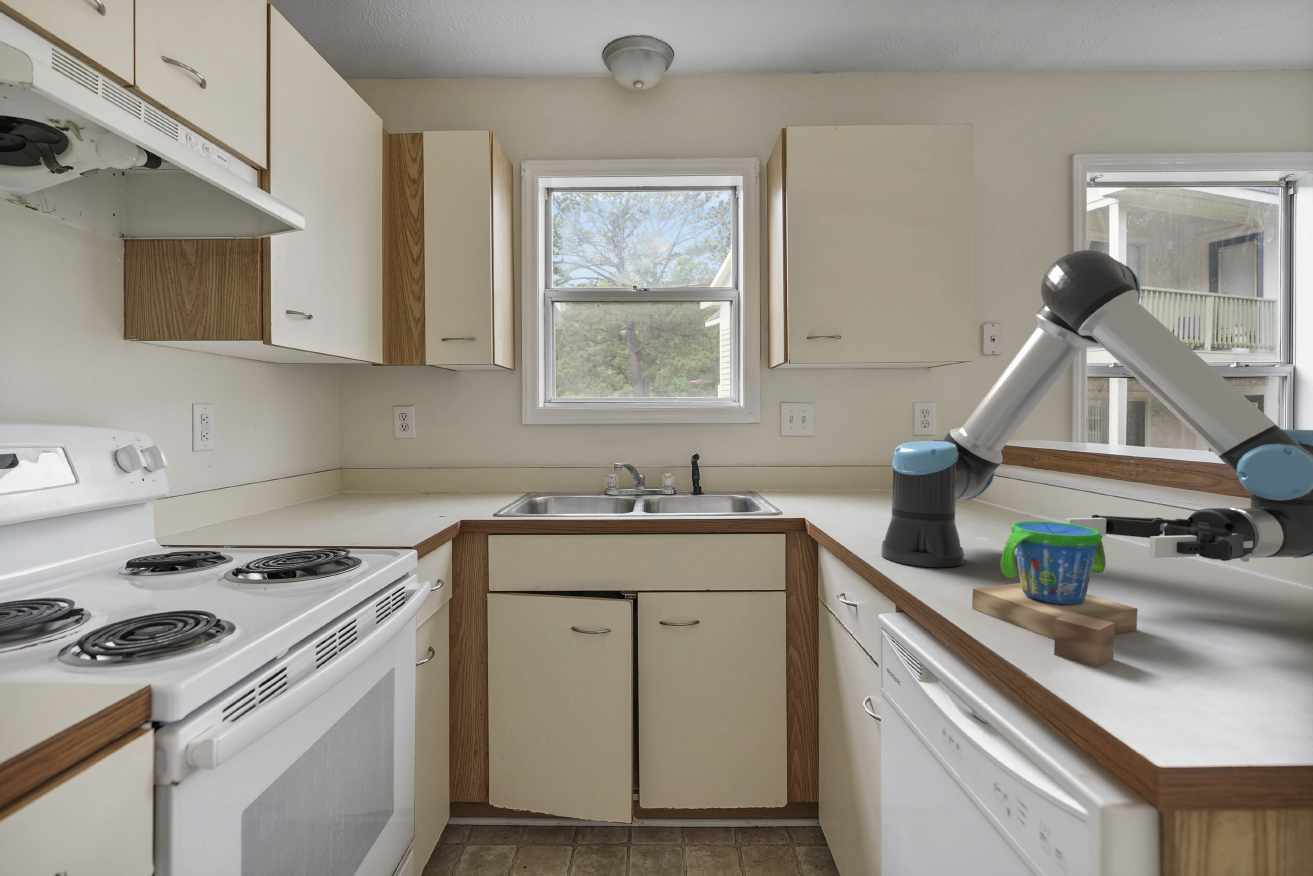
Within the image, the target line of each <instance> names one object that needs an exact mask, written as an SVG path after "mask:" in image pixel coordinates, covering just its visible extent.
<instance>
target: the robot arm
mask: <svg viewBox="0 0 1313 876" xmlns="http://www.w3.org/2000/svg"><path fill="white" fill-rule="evenodd" d="M1138 279H1139V278H1138V277H1137V274H1136V273H1135V272H1134V271H1133V269H1131V268H1130V267H1129V266H1127V265H1126V264H1125V263H1122V262H1120V261H1118V260H1117V259H1115V258H1113V257H1112V256H1111V255H1109V254H1107V253H1106V252H1102V251H1101V250H1100V251H1099V250H1094V249H1093V250H1091V249H1085V250H1083V249H1082V250H1078V251H1073V252H1070V253H1067V254H1066V255H1063V256H1062V257H1060V258H1058V259H1057V260H1055V261H1054V262H1053V263H1052V264H1051V265H1050V267H1048V269H1047V270H1046V272H1045V274H1044V276H1043V277H1042V281H1041V285H1040V294H1041V299H1042V301H1043V304H1042V306H1041V307H1040V309H1039V310H1038V312H1037V313H1036V315H1035V316H1036V321H1037V326H1036V328H1035V330H1034V331H1033V333H1032V334H1031V335H1030V336H1029V337H1028V339H1027V340H1026V341H1025V343H1024V344H1023V346H1021V348H1020V350H1019V351H1018V352H1017V354H1016V355H1015V357H1014V358H1013V359H1012V360H1011V362H1010V363H1009V364H1008V366H1007V367H1006V368H1005V370H1004V371H1003V372H1002V374H1001V375H1000V376H999V377H998V379H997V380H996V382H994V384H993V385H992V387H991V388H990V390H989V391H987V393H986V395H985V396H984V398H983V399H982V400H981V401H980V403H979V404H978V406H977V407H976V408H975V409H974V411H973V412H972V413H971V415H970V416H969V418H968V419H967V420H966V422H965V423H964V424H963V426H961V427H958V428H957V427H956V428H952V429H950V430H949V432H948V433H947V434H946V435H945V437H944V438H943V439H942V440H920V441H910V442H904V443H901V444H899V445H897V446H896V447H895V449H894V452H893V459H892V462H891V463H892V465H891V466H892V484H891V485H892V492H891V495H892V496H891V498H892V499H891V519H890V522H889V524H888V527H887V530H886V534H885V537H884V540H883V541H882V543H881V556H882V557H883V558H884V559H887V560H890V561H892V562H895V563H899V564H904V565H909V566H918V567H926V568H953V567H959V566H962V565H963V564H964V561H965V560H964V559H965V551H964V548H963V547H962V546H961V542H960V535H959V533H958V529H957V526H956V508H957V507H956V506H957V505H956V504H957V503H956V502H961V501H969V500H972V499H975V498H977V497H978V496H980V495H982V494H983V493H985V492H986V491H987V490H988V488H989V487H990V486H991V485H992V483H993V481H994V479H995V474H996V473H995V472H996V470H997V469H998V468H999V467H1000V465H1001V464H1002V463H1003V460H1004V459H1003V454H1002V450H1003V448H1004V447H1005V446H1006V445H1007V443H1008V442H1009V441H1010V440H1011V438H1013V436H1014V435H1015V434H1016V432H1017V431H1018V430H1019V428H1020V427H1021V426H1022V425H1023V424H1024V422H1026V420H1027V419H1028V417H1029V416H1030V415H1031V414H1032V413H1033V411H1034V410H1035V409H1036V407H1037V406H1038V405H1039V404H1040V403H1041V401H1042V400H1043V399H1044V398H1045V396H1046V395H1047V394H1048V393H1049V391H1050V390H1051V388H1053V386H1055V384H1056V383H1057V381H1058V380H1059V379H1060V378H1061V376H1063V374H1064V373H1065V372H1066V370H1067V369H1068V368H1069V366H1070V365H1071V364H1072V363H1073V361H1075V359H1076V358H1077V357H1078V356H1079V354H1080V353H1081V351H1083V350H1084V349H1086V348H1090V347H1095V346H1098V345H1099V344H1100V346H1101V347H1103V348H1104V350H1106V351H1107V352H1108V353H1109V354H1110V355H1111V356H1112V358H1114V359H1115V360H1116V361H1117V362H1119V364H1120V365H1122V366H1123V368H1124V369H1126V370H1127V371H1128V372H1129V373H1130V374H1131V375H1132V377H1134V378H1135V379H1136V380H1137V381H1138V382H1139V383H1140V384H1141V385H1142V386H1143V387H1144V388H1146V390H1148V391H1149V393H1151V394H1152V395H1153V396H1154V397H1155V398H1156V399H1158V401H1159V402H1160V403H1161V404H1162V405H1164V407H1165V408H1167V409H1168V410H1169V411H1170V412H1171V414H1173V415H1174V416H1175V417H1176V418H1178V420H1179V421H1180V422H1182V424H1184V425H1185V426H1186V427H1187V428H1188V430H1190V431H1191V432H1192V433H1193V434H1194V435H1195V436H1196V437H1197V438H1198V439H1199V440H1200V441H1202V442H1203V444H1205V446H1207V448H1209V449H1210V450H1211V451H1212V452H1213V453H1214V455H1216V456H1217V457H1218V458H1219V459H1220V460H1221V461H1222V462H1223V464H1225V465H1226V466H1227V468H1228V469H1230V470H1231V471H1232V472H1233V473H1234V474H1235V475H1236V477H1237V479H1238V480H1239V483H1240V484H1241V485H1242V486H1243V487H1244V489H1246V490H1247V491H1248V492H1249V493H1251V494H1250V506H1249V507H1223V508H1222V507H1220V508H1219V507H1218V508H1202V509H1199V510H1197V511H1194V512H1193V513H1191V515H1190V516H1189V517H1188V518H1187V519H1186V518H1175V519H1166V518H1165V519H1164V518H1163V517H1130V516H1115V515H1114V516H1113V515H1098V514H1092V515H1091V517H1078V518H1077V517H1076V518H1074V517H1072V518H1070V517H1069V518H1065V523H1067V524H1074V525H1080V526H1085V527H1089V528H1092V529H1096V530H1098V531H1099V532H1100V535H1101V537H1102V538H1103V537H1104V536H1105V537H1106V536H1107V535H1113V536H1114V535H1115V536H1123V537H1125V536H1127V537H1133V538H1135V537H1137V538H1147V539H1149V553H1148V554H1149V555H1148V556H1149V557H1151V558H1155V559H1159V558H1185V557H1186V558H1189V557H1193V558H1194V557H1197V555H1198V556H1200V557H1202V558H1205V559H1210V560H1218V561H1219V560H1220V561H1222V562H1223V561H1224V562H1227V561H1231V560H1236V559H1240V561H1241V562H1243V563H1244V562H1245V563H1246V562H1247V563H1248V562H1250V559H1253V558H1254V559H1260V558H1261V559H1262V558H1265V559H1266V558H1295V559H1299V558H1305V557H1313V429H1286V428H1284V429H1282V428H1280V427H1279V426H1278V425H1277V424H1276V423H1275V422H1274V421H1273V420H1272V419H1271V418H1269V416H1267V415H1266V413H1264V412H1263V411H1262V410H1260V409H1259V408H1258V407H1257V406H1256V405H1254V403H1252V402H1251V401H1250V400H1249V399H1248V398H1247V397H1246V396H1244V395H1243V394H1242V393H1241V392H1240V391H1239V390H1238V389H1237V388H1236V387H1234V385H1232V384H1231V383H1230V381H1227V379H1225V378H1224V377H1223V376H1222V375H1221V374H1220V373H1219V372H1218V371H1216V370H1215V369H1214V368H1213V367H1212V366H1211V365H1209V363H1208V362H1206V361H1205V360H1204V359H1203V358H1202V357H1201V356H1199V355H1198V353H1196V352H1195V351H1194V350H1193V349H1191V348H1190V347H1189V346H1188V345H1187V344H1186V343H1184V341H1182V340H1181V339H1180V338H1179V337H1178V336H1176V334H1174V333H1173V332H1172V331H1171V330H1170V329H1169V328H1168V327H1167V326H1165V324H1163V323H1162V322H1161V321H1160V320H1159V319H1158V318H1156V317H1155V316H1154V315H1153V314H1152V313H1151V311H1148V310H1147V308H1145V307H1144V306H1143V305H1142V304H1141V303H1140V300H1141V295H1142V294H1141V292H1142V291H1141V285H1140V281H1139V280H1138ZM989 489H990V488H989ZM1163 534H1164V535H1163Z"/></svg>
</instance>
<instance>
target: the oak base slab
mask: <svg viewBox="0 0 1313 876" xmlns="http://www.w3.org/2000/svg"><path fill="white" fill-rule="evenodd" d="M971 601H972V602H971V605H972V606H971V608H973V609H972V610H975V611H979V612H980V611H981V613H984V614H986V615H988V614H989V616H992V617H994V618H996V617H997V619H999V618H1000V619H999V620H1002V621H1005V622H1007V621H1008V622H1007V623H1010V624H1013V625H1016V626H1018V627H1020V626H1021V628H1024V629H1026V630H1029V631H1032V632H1034V633H1036V632H1037V634H1038V635H1039V634H1040V635H1042V636H1045V637H1047V638H1049V639H1052V640H1055V619H1056V618H1059V617H1061V616H1064V615H1066V614H1069V613H1071V612H1073V613H1077V614H1081V615H1085V616H1089V617H1093V618H1097V619H1101V620H1105V621H1109V622H1113V623H1115V626H1114V635H1117V634H1123V633H1128V632H1134V631H1137V630H1138V629H1137V627H1138V610H1139V609H1138V607H1133V606H1129V605H1128V604H1127V605H1126V604H1123V603H1120V602H1118V601H1117V602H1115V601H1112V600H1109V599H1105V598H1102V597H1099V596H1095V595H1092V594H1088V593H1086V596H1085V599H1084V601H1083V602H1082V603H1076V604H1055V603H1048V602H1043V601H1040V600H1036V599H1032V598H1030V597H1029V596H1027V595H1026V594H1025V593H1024V592H1023V590H1022V588H1021V583H1018V582H1017V583H1009V584H999V585H992V586H983V587H975V588H972V600H971Z"/></svg>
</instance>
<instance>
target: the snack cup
mask: <svg viewBox="0 0 1313 876" xmlns="http://www.w3.org/2000/svg"><path fill="white" fill-rule="evenodd" d="M1010 529H1011V534H1010V535H1009V536H1008V538H1007V540H1006V542H1005V545H1004V546H1003V551H1002V555H1001V558H1000V569H1001V572H1002V574H1003V575H1004V576H1005V577H1006V578H1010V579H1015V578H1017V575H1018V574H1019V575H1018V576H1019V581H1020V583H1021V588H1022V590H1023V592H1024V593H1025V594H1026V595H1027V596H1029V597H1030V598H1032V599H1036V600H1040V601H1043V602H1048V603H1055V604H1076V603H1082V602H1083V601H1084V599H1085V596H1086V594H1088V593H1087V592H1088V588H1089V584H1090V580H1091V579H1090V578H1091V575H1092V573H1091V572H1093V573H1097V574H1100V573H1102V572H1103V571H1105V569H1106V565H1107V563H1106V562H1107V561H1106V555H1105V549H1104V543H1103V541H1102V539H1103V536H1102V537H1101V535H1100V532H1099V531H1098V530H1096V529H1092V528H1089V527H1085V526H1080V525H1074V524H1067V523H1066V522H1065V523H1064V522H1056V521H1038V520H1033V521H1032V520H1025V521H1017V522H1014V523H1012V524H1011V527H1010ZM1015 551H1016V560H1017V561H1016V562H1017V567H1018V574H1017V568H1016V563H1015Z"/></svg>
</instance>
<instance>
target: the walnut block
mask: <svg viewBox="0 0 1313 876" xmlns="http://www.w3.org/2000/svg"><path fill="white" fill-rule="evenodd" d="M1114 626H1115V623H1113V622H1109V621H1105V620H1101V619H1097V618H1093V617H1089V616H1085V615H1081V614H1077V613H1073V612H1071V613H1069V614H1066V615H1064V616H1061V617H1059V618H1056V619H1055V639H1054V643H1053V644H1054V646H1053V647H1054V648H1053V649H1054V650H1053V655H1054V656H1057V657H1061V658H1064V659H1068V660H1069V661H1073V662H1077V663H1079V664H1080V663H1081V664H1082V665H1086V666H1089V667H1092V666H1093V667H1092V668H1095V669H1096V668H1097V669H1098V668H1100V667H1101V666H1103V665H1106V664H1107V663H1109V662H1111V661H1113V660H1114V648H1115V646H1114V644H1115V634H1114Z"/></svg>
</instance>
